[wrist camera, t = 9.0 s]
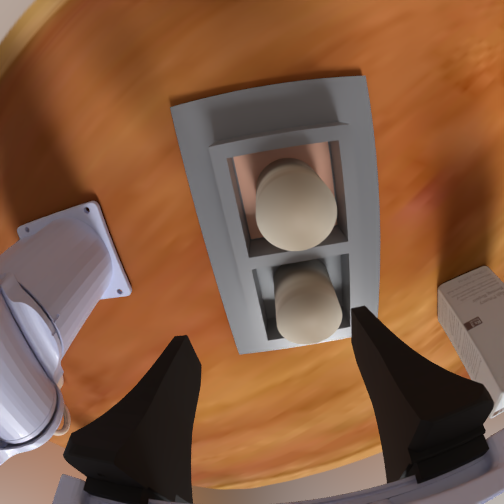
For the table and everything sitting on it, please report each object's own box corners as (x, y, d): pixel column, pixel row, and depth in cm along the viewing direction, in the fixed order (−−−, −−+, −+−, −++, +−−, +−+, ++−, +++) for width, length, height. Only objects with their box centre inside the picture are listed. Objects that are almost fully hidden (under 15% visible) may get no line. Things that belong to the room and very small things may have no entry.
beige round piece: (277, 306, 23) (281, 348, 19) (269, 261, 21) (271, 299, 17) (329, 297, 22) (342, 338, 18) (326, 251, 21) (341, 288, 17)
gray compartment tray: (239, 350, 26) (237, 376, 23) (172, 107, 17) (157, 108, 14) (374, 328, 24) (384, 351, 22) (362, 76, 16) (380, 72, 13)
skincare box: (485, 262, 21) (564, 347, 11) (483, 298, 23) (546, 383, 12) (433, 286, 23) (504, 391, 12) (434, 322, 24) (490, 422, 14)
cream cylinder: (261, 223, 20) (262, 256, 16) (250, 163, 18) (248, 180, 14) (322, 214, 19) (339, 244, 15) (315, 153, 18) (333, 168, 14)
